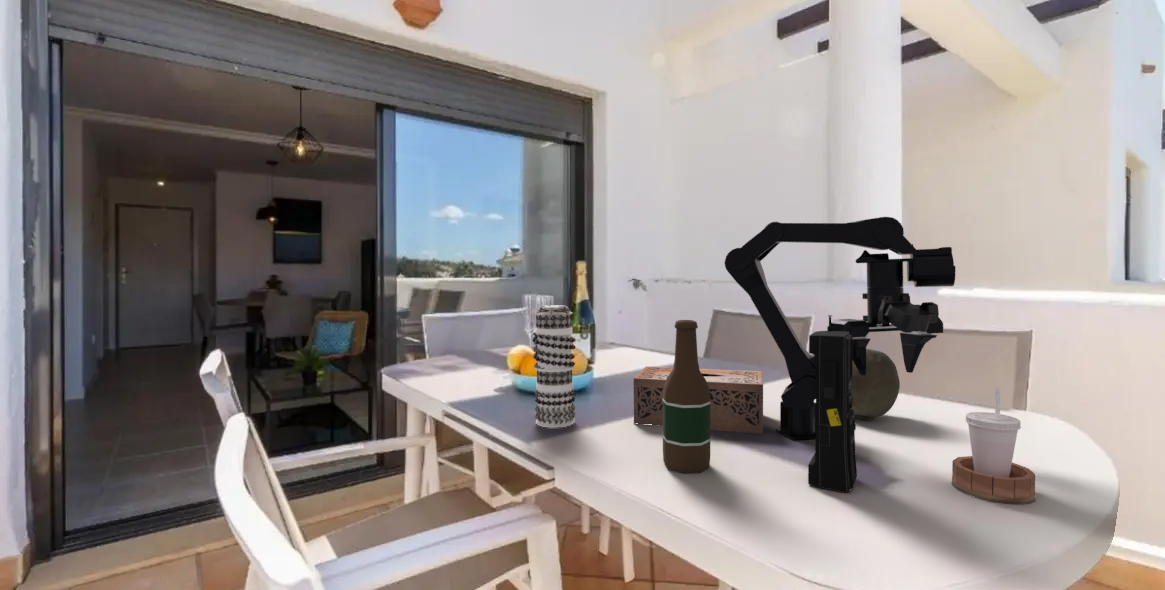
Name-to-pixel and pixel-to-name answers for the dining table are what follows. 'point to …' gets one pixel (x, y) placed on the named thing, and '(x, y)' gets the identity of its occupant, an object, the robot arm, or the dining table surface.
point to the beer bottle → (686, 407)
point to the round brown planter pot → (994, 483)
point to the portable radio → (833, 412)
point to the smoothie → (992, 440)
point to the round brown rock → (874, 386)
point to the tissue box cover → (730, 398)
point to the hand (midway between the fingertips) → (886, 373)
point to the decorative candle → (554, 367)
